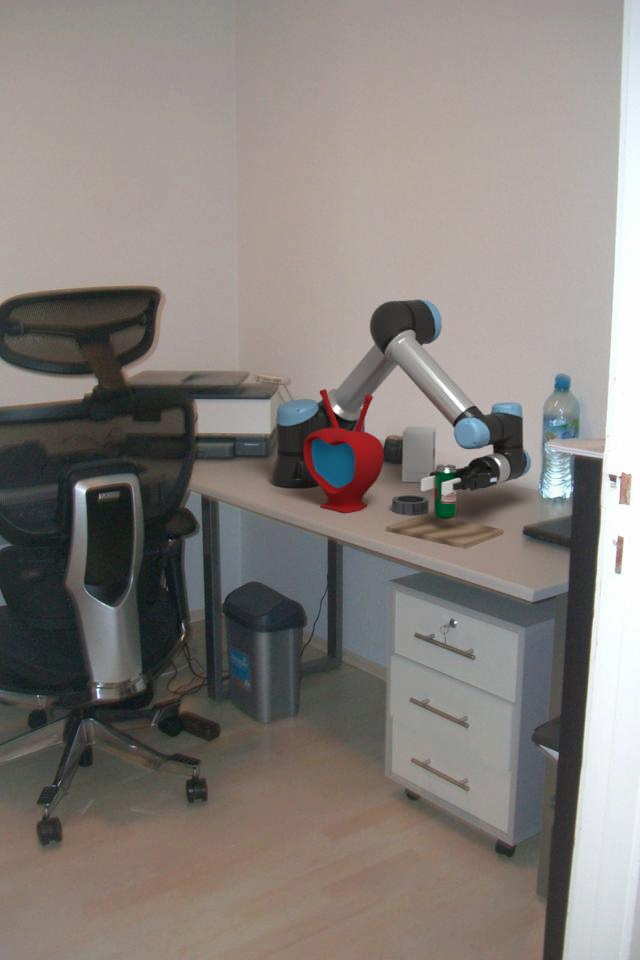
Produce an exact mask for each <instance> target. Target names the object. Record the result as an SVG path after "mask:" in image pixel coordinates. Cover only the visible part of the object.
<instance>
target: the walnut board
mask: <svg viewBox="0 0 640 960" xmlns="http://www.w3.org/2000/svg"><path fill="white" fill-rule="evenodd" d="M385 530H386V532H389V531H390V532H391V533H394V534H395V533H396V534H399V535H403V536H409V537H412V538H417V539H421V540H425V541H430V542H435V543H439V544H444V545H448V546H452V547H456V548H461V549H467V548H470V547H473V546H475V545H477V544H480V543H483V542H486V541H488V540H490V539H494V538H496V537H498V536H502V535H503V534H504V528H503V529H502V528H499V527H493V526H489V525H488V526H487V525H483V524H477V523H474V522H469V521H464V520H458V519H455V518H451V519H441V518H438V517H436V516H435V514H429V513H425V514H422V515H417V516H415V517H412V518H410V519H409V518H408V519H406V520H402V521H400V522H397V523H392V524H391V525H386V527H385Z"/></svg>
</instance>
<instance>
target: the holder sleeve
mask: <svg viewBox="0 0 640 960" xmlns="http://www.w3.org/2000/svg"><path fill="white" fill-rule="evenodd" d="M391 500H392V501H391V502H392V506H391V507H392V508H391V509H392V510H391V512H393V513H395V514H397V515H402V516H421V515H424V514H429V507H430V506H429V505H430V504H429V502H430V499H429V498H428V497H426V496H422V495H416V494H415V495H414V494H405V495H397V496H394V497H393V498H392V499H391Z"/></svg>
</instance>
